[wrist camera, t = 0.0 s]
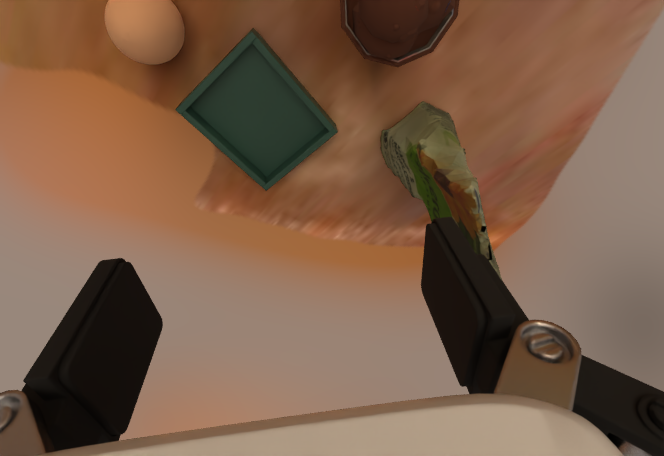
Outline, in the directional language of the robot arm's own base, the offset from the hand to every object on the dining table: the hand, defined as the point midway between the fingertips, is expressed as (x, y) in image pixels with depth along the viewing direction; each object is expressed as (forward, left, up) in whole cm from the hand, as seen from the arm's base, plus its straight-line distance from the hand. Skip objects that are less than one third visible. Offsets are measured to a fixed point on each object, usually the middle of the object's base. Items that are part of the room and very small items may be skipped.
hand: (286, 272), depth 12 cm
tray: (+3, -8, -37) cm, 38 cm away
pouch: (+19, +5, -38) cm, 42 cm away
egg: (-11, -9, -38) cm, 40 cm away
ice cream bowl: (+2, +11, -38) cm, 39 cm away
